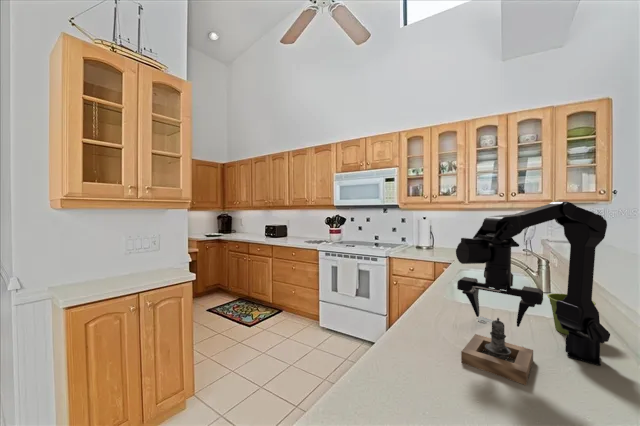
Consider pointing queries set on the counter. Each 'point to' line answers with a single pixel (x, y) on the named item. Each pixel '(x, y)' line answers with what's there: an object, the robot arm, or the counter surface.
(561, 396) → the counter surface
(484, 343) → the well block
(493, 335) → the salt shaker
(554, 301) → the plant pot
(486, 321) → the mounting bracket
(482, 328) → the counter surface
